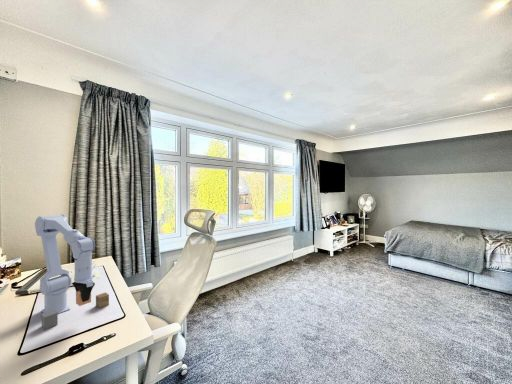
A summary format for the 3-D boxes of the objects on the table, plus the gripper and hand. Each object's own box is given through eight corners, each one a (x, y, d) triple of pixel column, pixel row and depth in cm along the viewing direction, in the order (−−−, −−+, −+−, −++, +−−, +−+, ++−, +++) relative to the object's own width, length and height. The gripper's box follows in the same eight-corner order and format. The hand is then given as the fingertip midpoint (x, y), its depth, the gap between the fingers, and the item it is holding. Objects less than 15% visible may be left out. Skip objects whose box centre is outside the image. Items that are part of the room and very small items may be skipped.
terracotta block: (75, 303, 92) (75, 291, 92) (87, 299, 96) (87, 287, 96) (79, 306, 90) (79, 294, 90) (91, 302, 93) (91, 290, 93)
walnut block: (95, 305, 105) (95, 295, 105) (105, 302, 109) (105, 292, 109) (99, 308, 103) (99, 297, 103) (108, 304, 106) (108, 294, 106)
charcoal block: (41, 326, 90) (41, 314, 89) (54, 321, 93) (54, 309, 93) (44, 329, 87) (44, 317, 87) (57, 324, 91) (57, 312, 91)
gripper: (101, 268, 92) (101, 300, 92) (87, 261, 100) (88, 291, 100) (81, 273, 86) (81, 307, 86) (68, 265, 94) (68, 297, 94)
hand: (83, 299), depth 93 cm, fingers closed on terracotta block, 4 cm apart
